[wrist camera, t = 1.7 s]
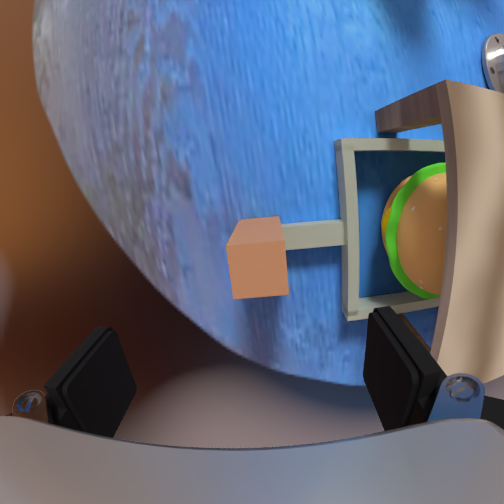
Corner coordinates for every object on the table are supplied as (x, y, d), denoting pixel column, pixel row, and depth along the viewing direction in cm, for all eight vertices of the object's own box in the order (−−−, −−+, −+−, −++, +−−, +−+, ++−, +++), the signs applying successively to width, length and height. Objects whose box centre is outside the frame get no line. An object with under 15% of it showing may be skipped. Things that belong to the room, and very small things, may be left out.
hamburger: (344, 210, 26) (377, 230, 18) (433, 139, 23) (487, 134, 15) (404, 302, 28) (441, 345, 20) (480, 234, 26) (530, 256, 17)
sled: (476, 145, 23) (534, 146, 14) (471, 288, 27) (517, 322, 19) (231, 149, 25) (212, 140, 16) (251, 317, 29) (245, 375, 21)
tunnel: (459, 118, 22) (542, 106, 11) (454, 312, 28) (512, 370, 16) (374, 111, 23) (445, 79, 11) (379, 327, 29) (424, 404, 17)
